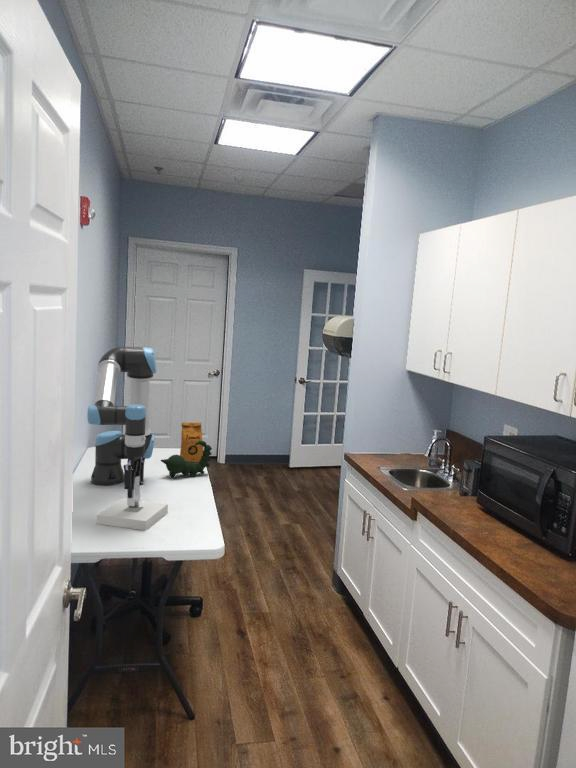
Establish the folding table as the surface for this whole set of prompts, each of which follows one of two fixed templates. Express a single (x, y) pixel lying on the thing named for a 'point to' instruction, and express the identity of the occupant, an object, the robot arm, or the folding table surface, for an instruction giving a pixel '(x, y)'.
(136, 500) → the steel pin
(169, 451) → the folding table surface
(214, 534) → the folding table surface
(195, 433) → the coffee package
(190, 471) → the toy figurine
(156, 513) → the socket block
